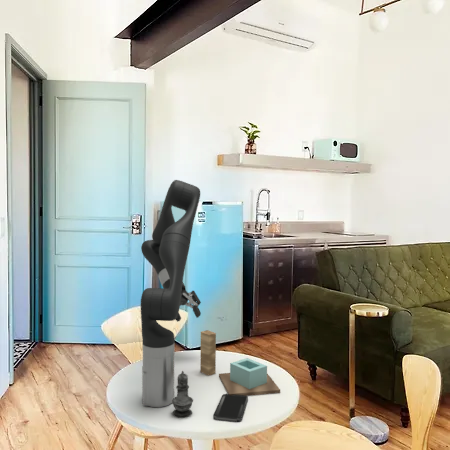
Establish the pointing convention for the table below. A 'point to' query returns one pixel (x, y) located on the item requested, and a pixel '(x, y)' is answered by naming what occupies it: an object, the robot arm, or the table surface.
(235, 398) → the phone
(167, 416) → the table surface
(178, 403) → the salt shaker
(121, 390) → the table surface
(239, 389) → the base plate
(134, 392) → the table surface
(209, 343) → the tall wooden block
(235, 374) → the teal open box
